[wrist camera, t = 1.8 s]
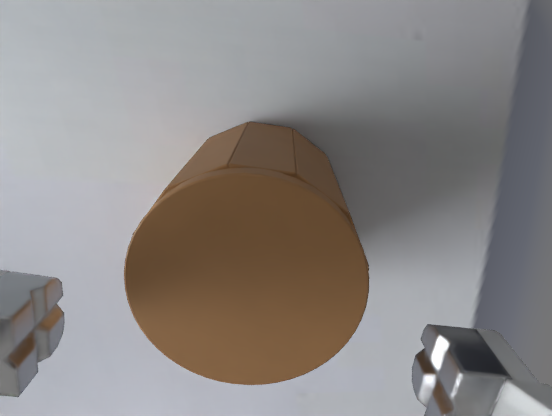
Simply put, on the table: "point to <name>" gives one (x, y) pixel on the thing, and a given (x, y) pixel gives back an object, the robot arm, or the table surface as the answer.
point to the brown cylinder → (249, 260)
